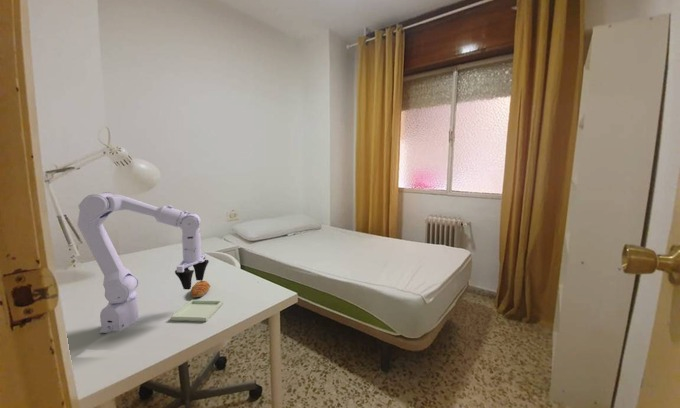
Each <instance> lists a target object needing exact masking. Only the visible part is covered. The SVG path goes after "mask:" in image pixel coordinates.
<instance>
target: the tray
mask: <svg viewBox="0 0 680 408" xmlns="http://www.w3.org/2000/svg"><path fill="white" fill-rule="evenodd" d="M223 305H224V300H219V299H218V300H216V299H191V300H190V301H189V302H187V303H186V304H185V305H183V306H182V307H181V308H180V309H179V310H177V311H176V312H175V313H174V314H173V315H171V316H170V320H171V322H193V323H194V322H201V323H204V322H205V323H206V322H208V321H209V320H210V319H211V318H212V316H213V315H215V313H217V311H218V310H219V309H220V308H221V307H222V306H223Z"/></svg>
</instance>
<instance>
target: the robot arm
mask: <svg viewBox="0 0 680 408" xmlns="http://www.w3.org/2000/svg"><path fill="white" fill-rule="evenodd" d="M78 209H79V212H78V219H77V227H78V229H79V231H80V232H81V234H82V237H83V238H84V240H85V242H86V244H87V246H88V247H89V251H90V252H91V254H92V255H93V257H94V259H95V261H96V263H97V266H98V267H99V268H100V271H101V272H102V274H103V283H102V287H103V288H104V298H105V299H106V300H107V302H108V303H107V305H106V306H105V307H103V309H101V311H100V315H99V317H100V327H101V328H100V330H99V333H100V334H101V333H103V334H104V333H105V334H108V333H110V332H121V331H122V330H124V329H125V328H126V329H127V327H129V326H130V325H133V324H134V323H136V322H137V321H138V320H139V318H140V317H139V304H138V293H137V292H136V289H137V288H138V286H139V284H140V283H139V279H138V277H137V276H136V275H134V274H133V273H132V272H131V270H130V269H129V268H127V267H125V266H124V264H123V262H122V260H121V257H120V256H119V254H118V252H117V250H116V248H115V246H114V244H113V242H112V240H111V238H110V236H109V233H108V232H107V229H106V228H105V226H104V224H105V223H104V222H105V221H106V219H107V218H108V217H109V216H110V215H111V214H112V213H113V212H117V211H123V210H126V211H130V212H134V213H139V214H143V215H147V216H150V217H153V218H154V219H156V222H158V223H162V224H165V225H168V226H172V227H176V228H180V229H181V232H182V233H181V234H182V235H181V242H182V244H181V245H182V261H181V262H180V263H179V264H178V265H177V266H176V269H175V271H174V274H175V275H176V276H177V278H178V279H179V281H180V283H181V285H182V288H183V290H191V289H192V278H193V275H195V281H199V282H200V281H204V278H205V277H204V276H205V272H206V268H207V266H208V264H209V260H208V259H207V253H202V239H201V237H202V235H201V228H200V225H201V222H202V219H201V217H200V216H199V215H198V214H196V213H195V212H189V211H188V210H184V211H183V210H181V209H178V208H174V206H173V205H170V204H169V205H162V206H160V207H158V206H155V205H152V204H149V203H146V202H143V201H141V200H137V199H135V198H132V197H128V196H125V195H123V194H118V193H116V194H115V193H114V192H110V191H107V192H102V193H96V194H95V193H93V194H89V195H87V196H85V197H84V198H83V199H82V200H81V201H80V203H79V204H78ZM188 212H189V213H188ZM191 267H193V269H192V270H191V269H190V268H191Z"/></svg>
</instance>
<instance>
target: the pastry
mask: <svg viewBox="0 0 680 408" xmlns="http://www.w3.org/2000/svg"><path fill="white" fill-rule="evenodd" d="M210 288H211V284H209V282H208V281H207V280H202V281H200V280H199V281H197V282H196V283H195V284H193V286H191V289H190V294H191V295H190V296H191V297H192V298H200V297H203V296H205V295H207V294H208V292H209V291H210V290H211V289H210Z"/></svg>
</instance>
